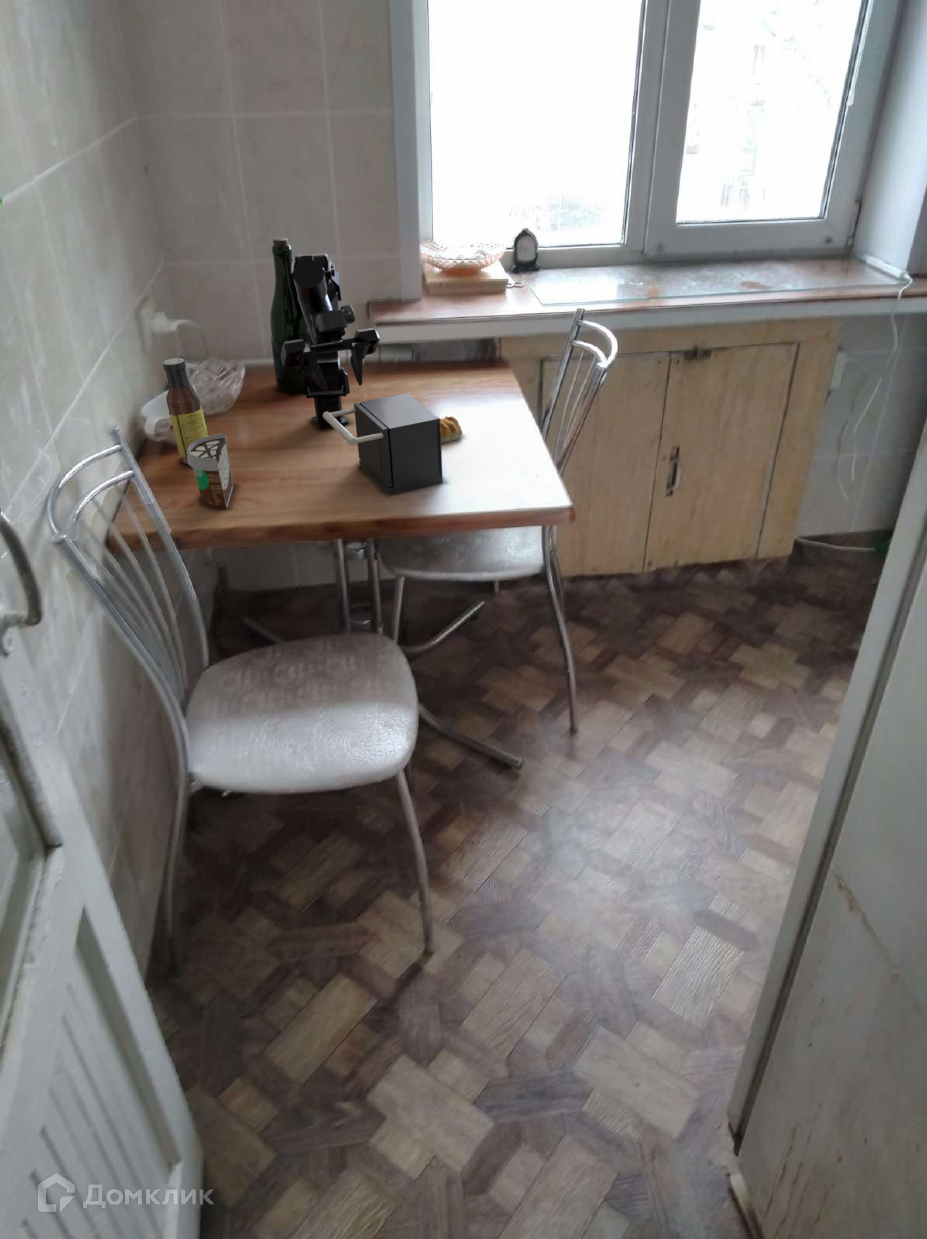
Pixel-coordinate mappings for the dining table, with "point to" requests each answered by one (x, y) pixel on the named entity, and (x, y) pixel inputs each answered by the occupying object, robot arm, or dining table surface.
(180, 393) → the sauce bottle
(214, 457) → the food container
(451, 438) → the pastry
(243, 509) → the dining table surface
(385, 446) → the oven door
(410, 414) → the oven
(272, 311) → the green wine bottle
